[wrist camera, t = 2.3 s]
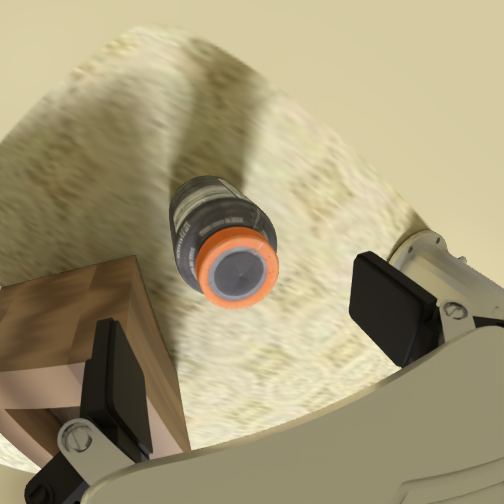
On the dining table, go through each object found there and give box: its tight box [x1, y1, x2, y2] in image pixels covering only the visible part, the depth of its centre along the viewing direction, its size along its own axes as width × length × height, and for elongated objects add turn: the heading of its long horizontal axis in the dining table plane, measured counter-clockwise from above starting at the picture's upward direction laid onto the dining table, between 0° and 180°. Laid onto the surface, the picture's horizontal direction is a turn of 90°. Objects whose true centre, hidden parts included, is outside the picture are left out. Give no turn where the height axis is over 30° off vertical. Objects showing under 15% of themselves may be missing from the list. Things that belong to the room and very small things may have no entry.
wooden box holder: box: [0, 255, 191, 469], centre depth 20 cm, size 15×15×12 cm
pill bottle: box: [169, 176, 279, 309], centre depth 19 cm, size 6×6×11 cm
